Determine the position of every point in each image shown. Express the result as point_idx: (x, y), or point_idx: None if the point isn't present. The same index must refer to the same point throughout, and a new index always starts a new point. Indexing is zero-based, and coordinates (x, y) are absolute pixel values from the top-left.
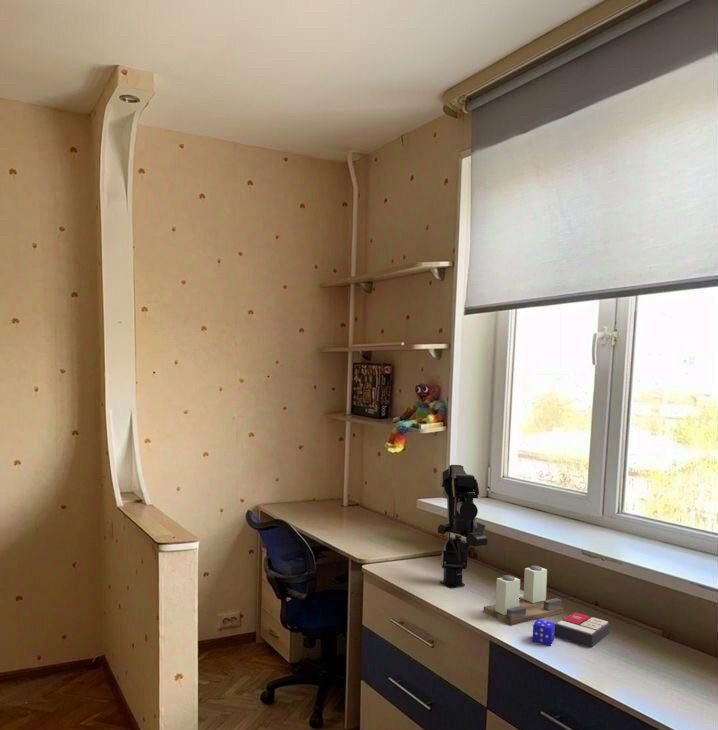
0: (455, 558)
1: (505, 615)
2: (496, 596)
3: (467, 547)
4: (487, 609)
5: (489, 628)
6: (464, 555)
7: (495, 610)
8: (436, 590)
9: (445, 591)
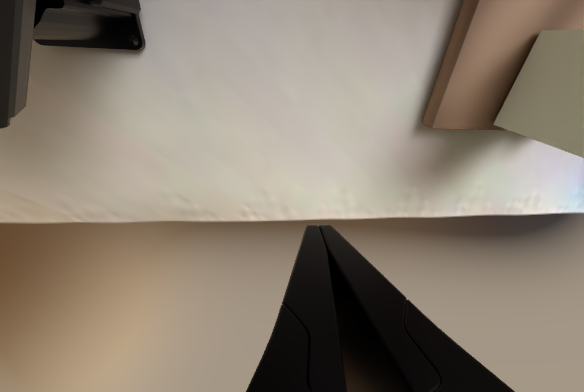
0: (4, 34)
1: None
2: (552, 145)
3: (472, 379)
4: (450, 127)
5: (493, 196)
6: (363, 263)
7: (494, 124)
8: (158, 134)
9: (179, 106)
